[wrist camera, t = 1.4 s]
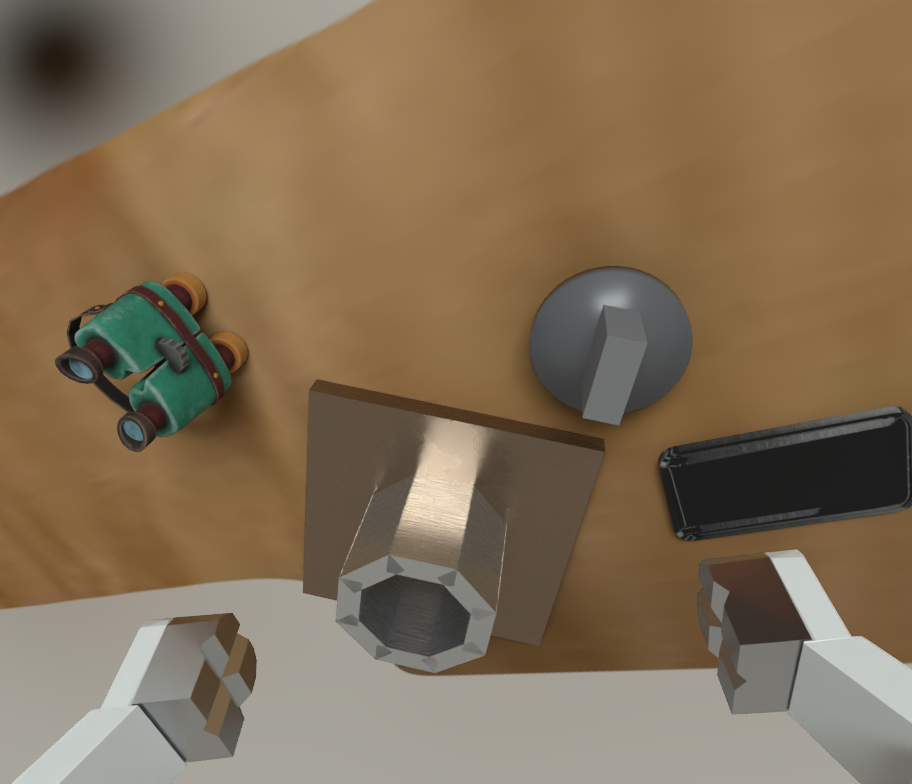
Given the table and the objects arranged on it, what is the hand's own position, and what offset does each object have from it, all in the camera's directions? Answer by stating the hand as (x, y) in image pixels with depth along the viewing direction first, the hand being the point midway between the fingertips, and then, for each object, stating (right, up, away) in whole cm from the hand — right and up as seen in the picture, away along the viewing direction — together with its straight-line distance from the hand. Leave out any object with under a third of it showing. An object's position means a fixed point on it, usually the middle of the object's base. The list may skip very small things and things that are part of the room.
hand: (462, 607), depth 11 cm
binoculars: (-19, +8, +33) cm, 39 cm away
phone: (+22, -2, +31) cm, 38 cm away
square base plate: (-1, -6, +37) cm, 38 cm away
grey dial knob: (+9, +8, +28) cm, 30 cm away
